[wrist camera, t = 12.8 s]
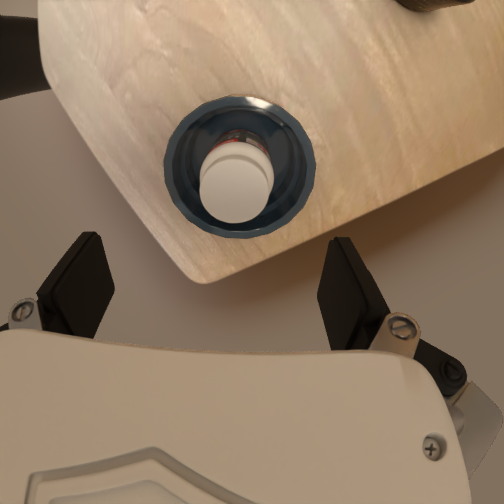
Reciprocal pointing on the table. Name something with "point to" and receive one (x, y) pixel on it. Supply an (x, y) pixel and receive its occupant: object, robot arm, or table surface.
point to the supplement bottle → (432, 4)
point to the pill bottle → (236, 177)
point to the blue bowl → (280, 149)
